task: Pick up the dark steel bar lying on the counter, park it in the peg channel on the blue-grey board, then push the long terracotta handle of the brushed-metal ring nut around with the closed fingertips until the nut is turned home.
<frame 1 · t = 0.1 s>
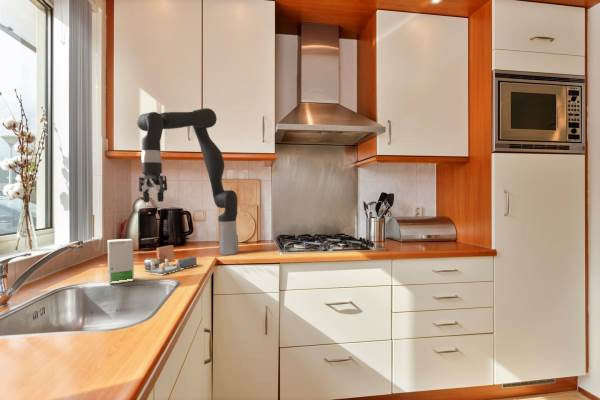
hand: (153, 201, 141), 29 cm above the countertop, tool pointing down, fingers open, 8 cm apart
skincare box: (121, 281, 128), on the countertop
steel bar: (186, 267, 150), on the countertop
nut base: (152, 269, 147), on the countertop
peg board: (165, 272, 141), on the countertop
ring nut: (159, 255, 150), point 5 cm above the countertop, hinge at 0.0°
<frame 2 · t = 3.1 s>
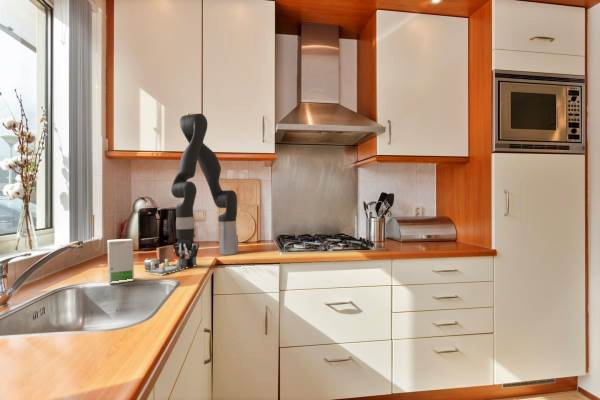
hand: (186, 266, 150), 0 cm above the countertop, tool pointing down, fingers closed on steel bar, 3 cm apart
steel bar: (186, 267, 150), on the countertop, touching gripper
everything else where it was.
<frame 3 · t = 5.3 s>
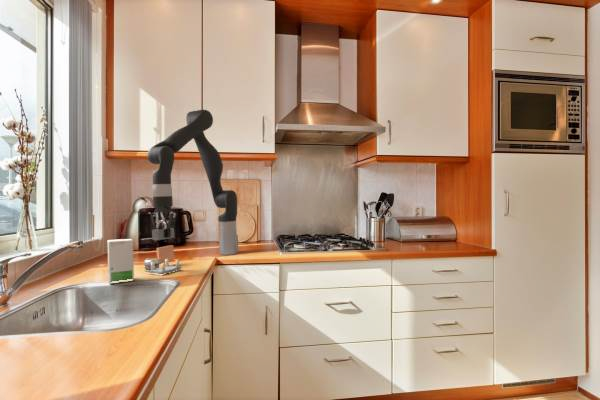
hand: (164, 237, 141), 14 cm above the countertop, tool pointing down, fingers closed on steel bar, 3 cm apart
steel bar: (163, 238, 141), point 14 cm above the countertop, touching gripper
everything else where it was.
when the fingers open (3 cm above the countertop, at t = 7.5 s): steel bar stays where it is, resting on peg board.
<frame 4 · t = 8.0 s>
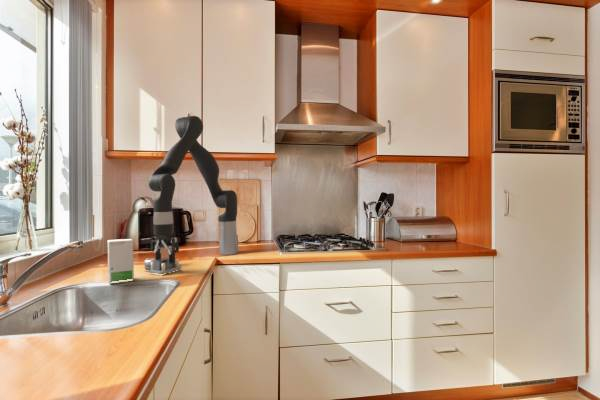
hand: (165, 262, 141), 4 cm above the countertop, tool pointing down, fingers open, 8 cm apart
steel bar: (164, 268, 141), point 1 cm above the countertop, touching peg board
everything else where it was.
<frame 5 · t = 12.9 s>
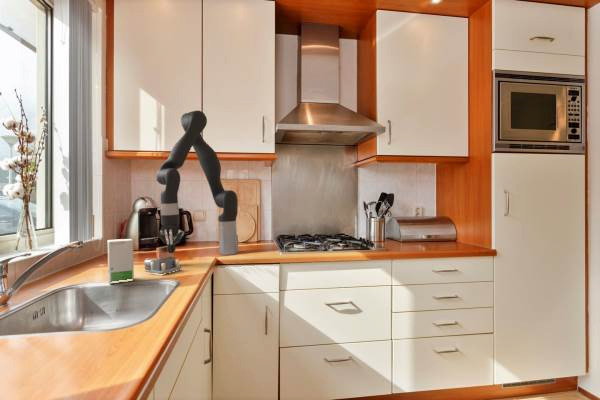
hand: (171, 252, 152), 6 cm above the countertop, tool pointing down, fingers closed
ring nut: (159, 255, 150), point 5 cm above the countertop, hinge at 1.0°, touching gripper
everything else where it was.
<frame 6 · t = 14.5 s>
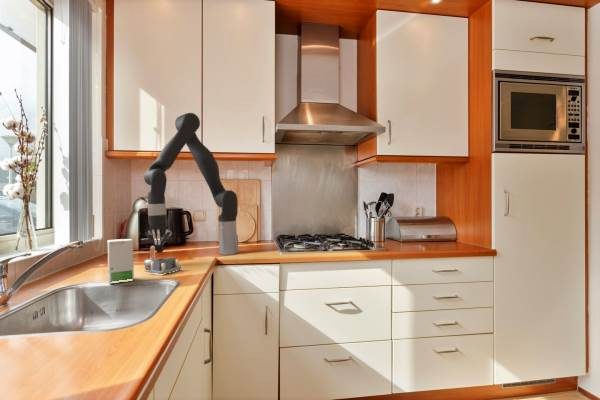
hand: (159, 252, 154), 6 cm above the countertop, tool pointing down, fingers closed
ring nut: (152, 255, 150), point 5 cm above the countertop, hinge at 49.3°, touching gripper
everything else where it was.
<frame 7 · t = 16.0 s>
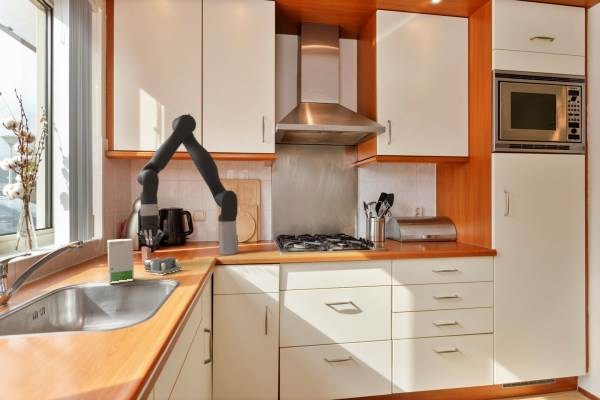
hand: (151, 252, 155), 6 cm above the countertop, tool pointing down, fingers closed
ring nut: (148, 256, 150), point 5 cm above the countertop, hinge at 69.8°, touching gripper
everything else where it was.
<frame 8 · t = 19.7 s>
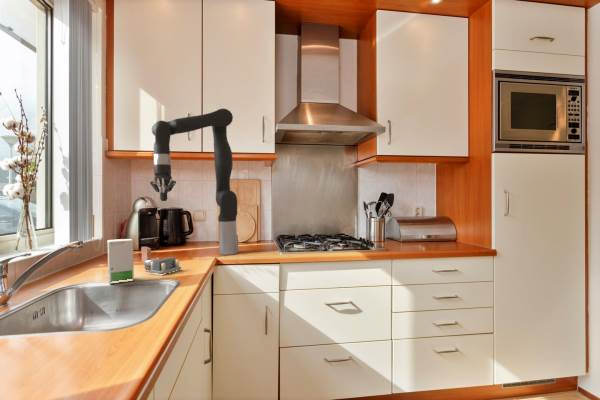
hand: (163, 201, 162), 29 cm above the countertop, tool pointing down, fingers closed
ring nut: (148, 256, 150), point 5 cm above the countertop, hinge at 70.2°
everything else where it was.
at the end: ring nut at +70° (first picture: +0°); steel bar 0.3 cm off-centre on the peg board, point 1.5 cm above the peg board's base; the gripper is holding nothing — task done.
